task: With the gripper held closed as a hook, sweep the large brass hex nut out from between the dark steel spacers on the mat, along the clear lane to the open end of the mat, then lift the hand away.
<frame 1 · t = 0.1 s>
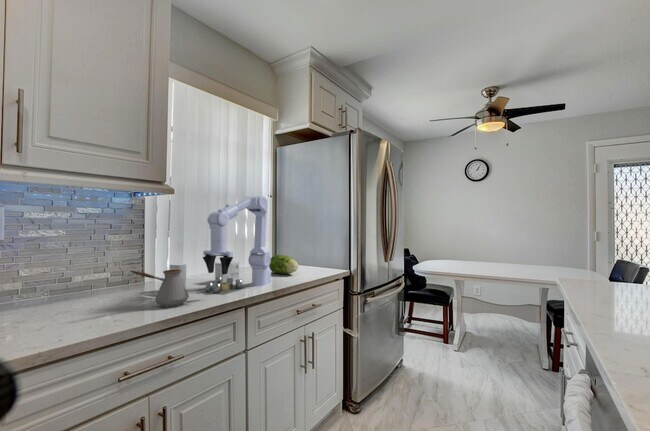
hand: (217, 273, 130), 10 cm above the worktop, tool pointing down, fingers open, 7 cm apart
nut: (225, 290, 142), point 1 cm above the worktop, touching mat
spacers: (220, 289, 143), resting on mat
mat: (220, 290, 143), on the worktop
light bulb box: (227, 283, 162), on the worktop
coffee pot: (159, 308, 115), on the worktop
lettuce: (284, 274, 188), on the worktop
skincare box: (177, 290, 144), on the worktop
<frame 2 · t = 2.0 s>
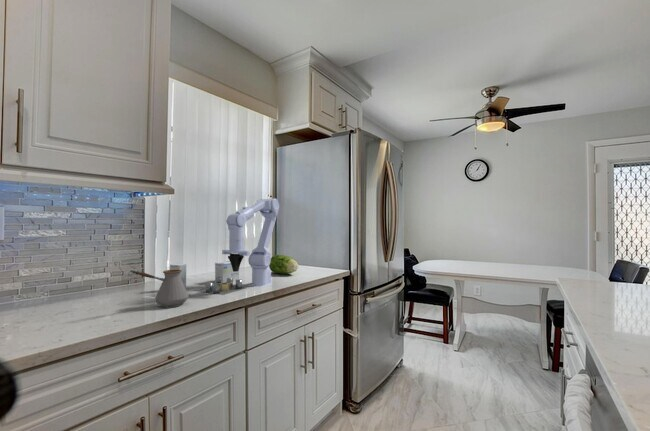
hand: (235, 271, 139), 9 cm above the worktop, tool pointing down, fingers closed
nothing on the worktop moved.
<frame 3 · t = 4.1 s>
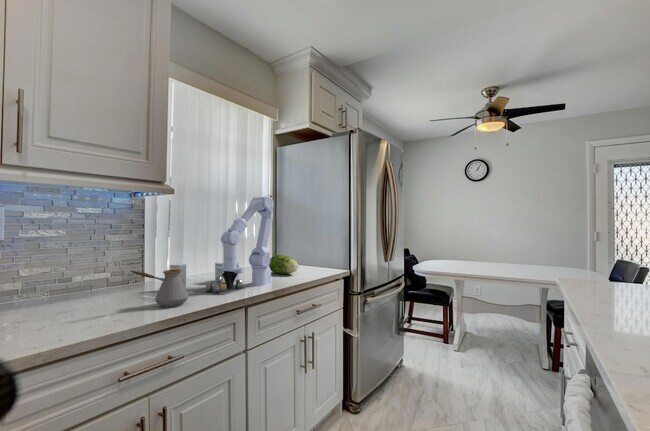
hand: (229, 288, 140), 2 cm above the worktop, tool pointing down, fingers closed
nut: (223, 289, 142), point 1 cm above the worktop, touching gripper
everything else where it was.
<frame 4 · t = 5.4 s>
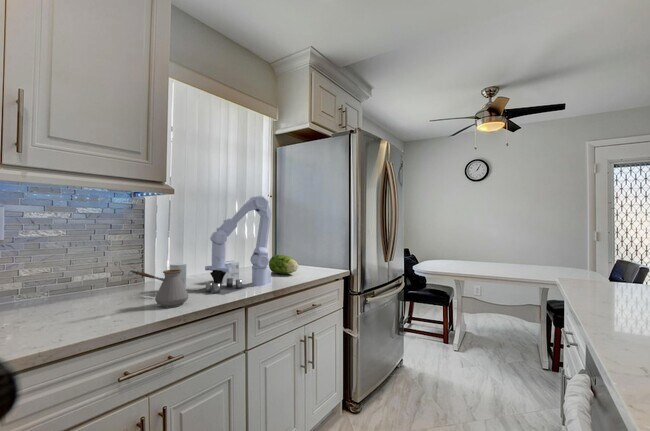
hand: (218, 287, 144), 2 cm above the worktop, tool pointing down, fingers closed
nut: (212, 288, 145), point 1 cm above the worktop, touching gripper
everything else where it was.
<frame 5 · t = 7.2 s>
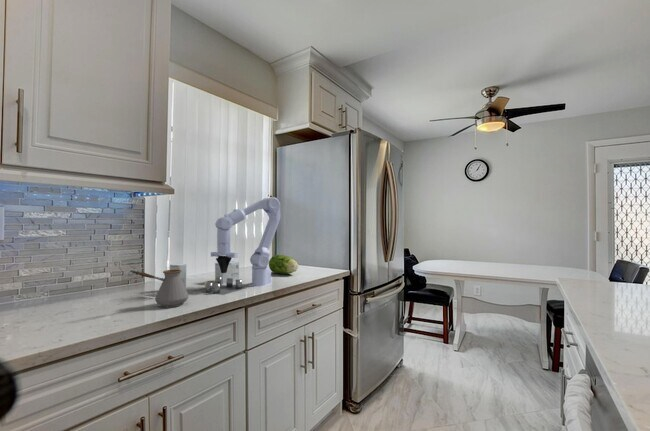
hand: (223, 272, 144), 8 cm above the worktop, tool pointing down, fingers closed
nut: (210, 288, 146), point 1 cm above the worktop, touching mat
everything else where it was.
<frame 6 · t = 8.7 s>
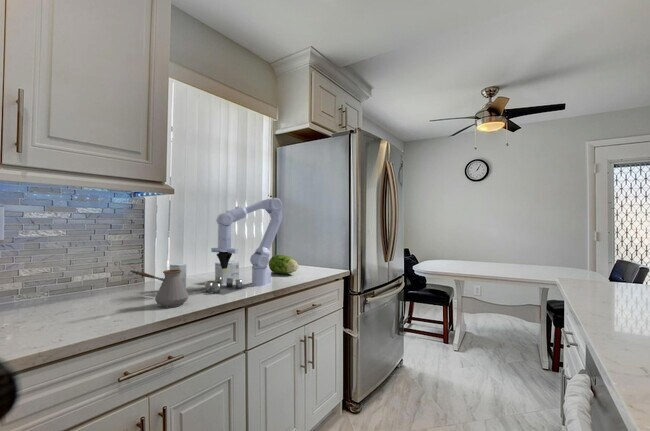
hand: (224, 268, 145), 10 cm above the worktop, tool pointing down, fingers closed
nothing on the worktop moved.
at the end: nut inside the target area (0.3 cm from its centre), point 0.6 cm above the worktop; nut moved 9.1 cm from its start; the gripper is holding nothing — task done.
